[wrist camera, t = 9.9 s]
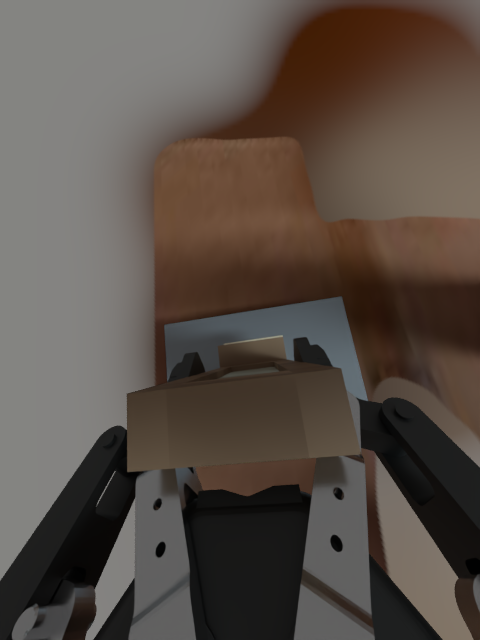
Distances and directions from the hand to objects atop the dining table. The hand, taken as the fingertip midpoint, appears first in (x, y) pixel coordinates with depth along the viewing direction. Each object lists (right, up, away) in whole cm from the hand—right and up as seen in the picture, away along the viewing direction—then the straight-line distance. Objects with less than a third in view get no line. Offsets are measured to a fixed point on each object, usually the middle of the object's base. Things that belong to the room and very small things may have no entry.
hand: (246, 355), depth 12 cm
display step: (+2, -4, +15) cm, 15 cm away
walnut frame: (+1, -3, +6) cm, 7 cm away
